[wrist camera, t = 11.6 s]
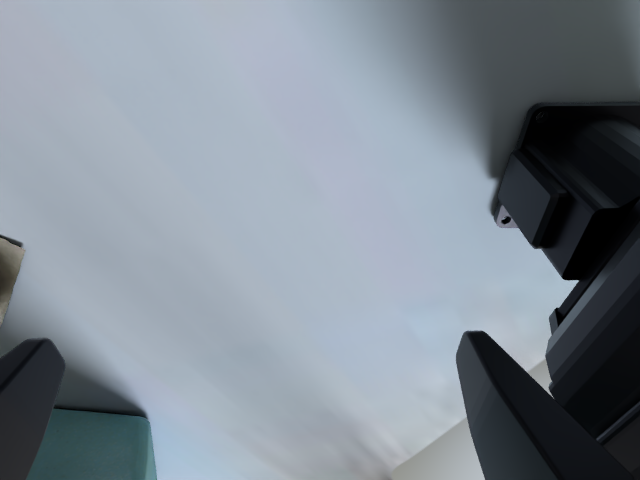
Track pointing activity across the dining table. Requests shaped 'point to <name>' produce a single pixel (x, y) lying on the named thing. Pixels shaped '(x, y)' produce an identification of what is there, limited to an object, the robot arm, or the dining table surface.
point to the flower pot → (95, 448)
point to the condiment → (8, 272)
